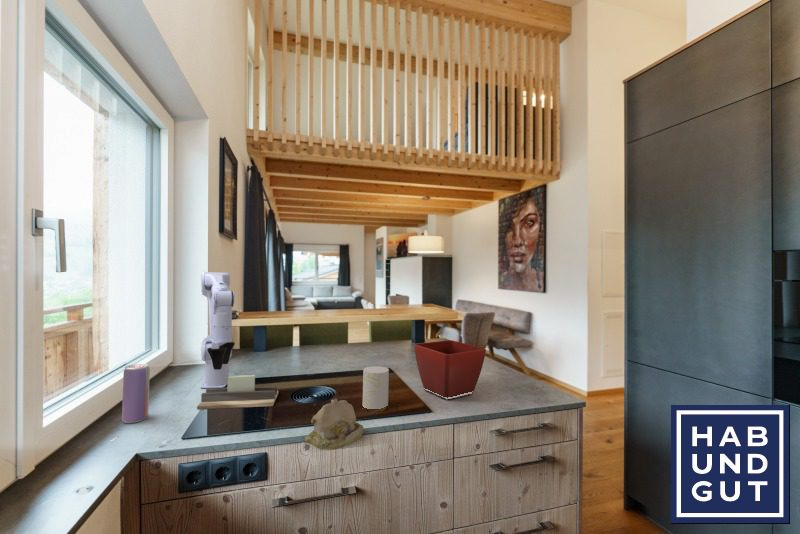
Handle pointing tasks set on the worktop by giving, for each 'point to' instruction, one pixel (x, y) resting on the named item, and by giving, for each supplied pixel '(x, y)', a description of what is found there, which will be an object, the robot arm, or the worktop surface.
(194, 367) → the worktop surface
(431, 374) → the plant pot
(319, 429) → the ceramic model
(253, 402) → the base
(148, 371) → the beverage can
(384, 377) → the white cylinder
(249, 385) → the cream rectangular block
